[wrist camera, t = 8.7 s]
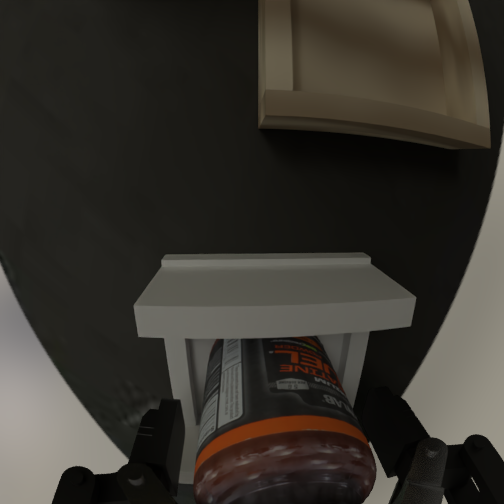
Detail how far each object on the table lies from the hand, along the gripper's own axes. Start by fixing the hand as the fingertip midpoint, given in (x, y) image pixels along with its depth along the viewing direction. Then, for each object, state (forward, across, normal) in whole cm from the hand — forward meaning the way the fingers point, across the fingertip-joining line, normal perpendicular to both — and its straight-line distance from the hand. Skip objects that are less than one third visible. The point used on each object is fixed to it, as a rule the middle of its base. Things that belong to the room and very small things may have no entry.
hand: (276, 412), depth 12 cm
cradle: (+5, 0, 0) cm, 5 cm away
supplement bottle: (+4, 0, 0) cm, 4 cm away
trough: (+5, -5, -17) cm, 18 cm away
